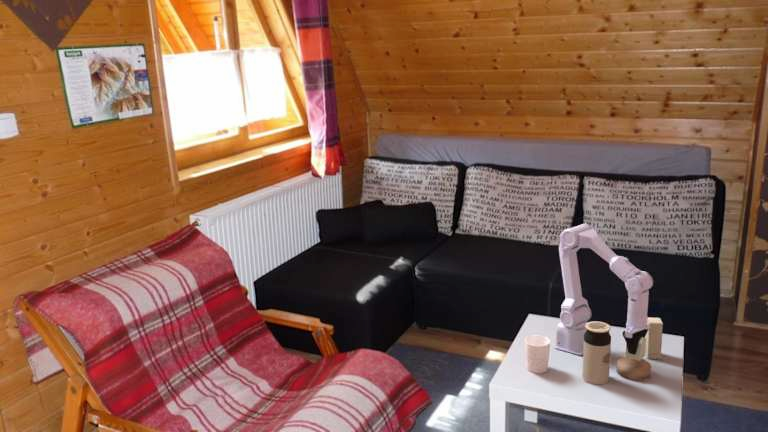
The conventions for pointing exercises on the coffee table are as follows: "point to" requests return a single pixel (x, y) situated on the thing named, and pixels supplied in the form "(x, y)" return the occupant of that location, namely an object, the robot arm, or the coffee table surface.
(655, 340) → the box
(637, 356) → the block
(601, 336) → the travel mug
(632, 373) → the coaster stand
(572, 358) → the coffee table surface
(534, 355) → the white cup
